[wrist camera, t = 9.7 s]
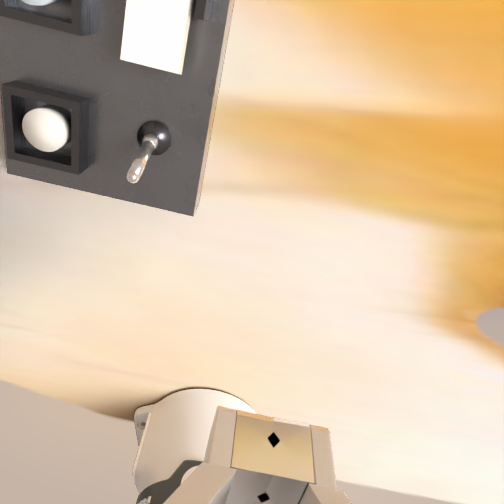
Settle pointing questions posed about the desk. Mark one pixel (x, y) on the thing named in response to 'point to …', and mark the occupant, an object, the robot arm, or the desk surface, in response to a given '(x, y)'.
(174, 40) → the rocker
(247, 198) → the desk surface
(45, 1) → the button
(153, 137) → the toggle lever
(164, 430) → the robot arm
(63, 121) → the button
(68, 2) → the panel
